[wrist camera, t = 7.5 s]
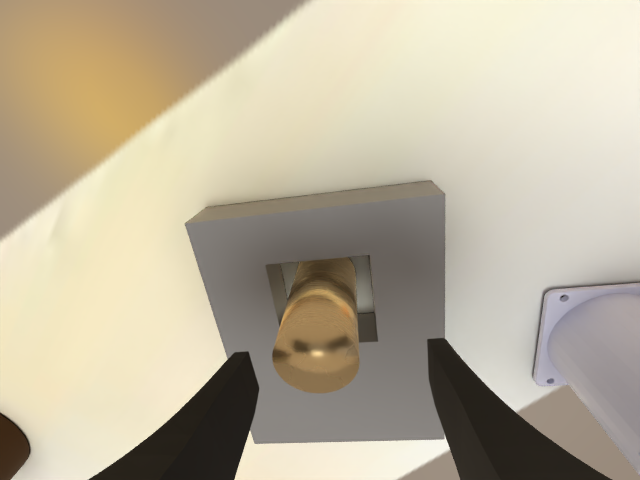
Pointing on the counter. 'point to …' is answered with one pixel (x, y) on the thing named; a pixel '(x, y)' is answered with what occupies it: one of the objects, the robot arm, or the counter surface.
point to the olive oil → (11, 449)
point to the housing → (373, 328)
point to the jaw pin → (319, 328)
